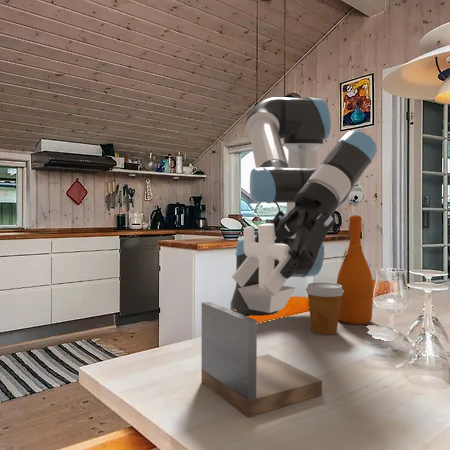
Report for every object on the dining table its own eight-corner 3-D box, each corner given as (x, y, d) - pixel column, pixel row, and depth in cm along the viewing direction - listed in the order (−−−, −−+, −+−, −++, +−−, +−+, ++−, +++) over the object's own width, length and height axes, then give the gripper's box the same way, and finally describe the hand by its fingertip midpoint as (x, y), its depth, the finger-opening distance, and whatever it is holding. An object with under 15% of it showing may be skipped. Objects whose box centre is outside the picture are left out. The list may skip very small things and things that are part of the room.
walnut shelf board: (268, 366, 83) (268, 354, 83) (321, 395, 70) (321, 380, 70) (201, 382, 76) (201, 368, 75) (248, 417, 63) (248, 400, 63)
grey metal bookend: (208, 366, 76) (208, 301, 76) (256, 398, 63) (256, 320, 63) (201, 368, 75) (201, 302, 75) (248, 400, 63) (248, 321, 62)
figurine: (277, 317, 68) (276, 224, 67) (233, 308, 74) (232, 223, 73) (300, 309, 73) (300, 223, 73) (257, 301, 79) (257, 222, 79)
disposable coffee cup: (351, 332, 107) (351, 286, 106) (325, 339, 101) (326, 290, 101) (323, 324, 115) (323, 281, 114) (297, 329, 109) (298, 284, 109)
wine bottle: (352, 315, 125) (353, 215, 124) (380, 322, 117) (381, 215, 116) (328, 319, 120) (330, 215, 119) (355, 327, 112) (357, 215, 111)
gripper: (378, 208, 71) (306, 312, 64) (295, 209, 90) (231, 289, 82) (356, 175, 68) (279, 280, 61) (275, 183, 87) (208, 264, 79)
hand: (252, 285), depth 71 cm, fingers closed on figurine, 9 cm apart
